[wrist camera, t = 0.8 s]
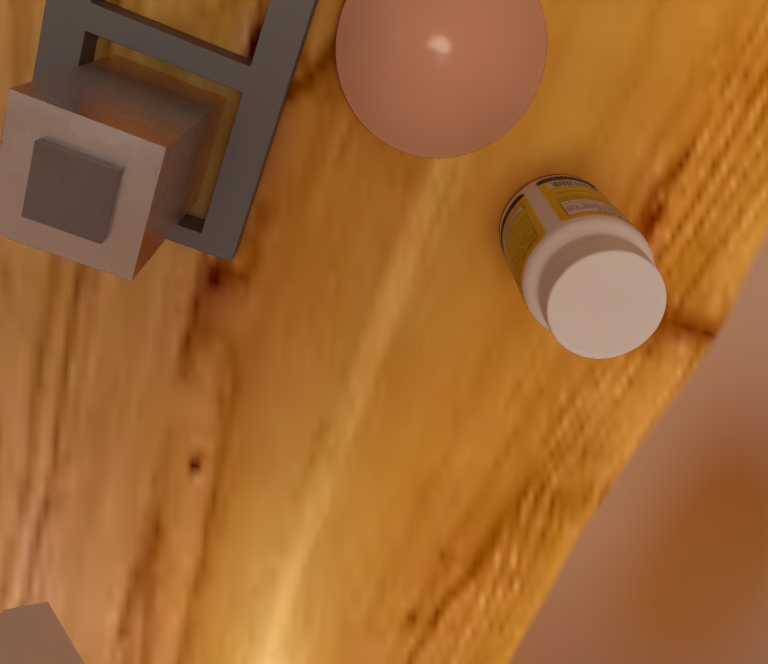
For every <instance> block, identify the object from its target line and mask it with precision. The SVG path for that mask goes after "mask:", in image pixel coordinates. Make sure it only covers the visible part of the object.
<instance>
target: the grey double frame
mask: <svg viewBox="0 0 768 664" xmlns="http://www.w3.org/2000/svg"><path fill="white" fill-rule="evenodd" d="M317 1H318V0H270V2H269V6H268V9H267V13H266V16H265V19H264V23H263V26H262V30H261V33H260V36H259V40H258V43H257V47H256V50H255V53H254V57H253V60H250V59H247V58H245V57H243V56H240V55H238V54H235V53H233V52H230V51H228V50H225V49H223V48H220V47H218V46H215V45H213V44H210V43H208V42H205V41H203V40H200V39H198V38H195V37H193V36H190V35H188V34H186V33H183V32H181V31H178V30H176V29H173V28H171V27H168V26H166V25H163V24H161V23H158V22H156V21H153V20H151V19H148V18H146V17H143V16H141V15H138V14H136V13H133V12H131V11H129V10H126V9H124V8H121V7H119V6H116V5H114V4H111V3H109V2H106V1H105V0H46V5H45V11H44V17H43V23H42V29H41V34H40V40H39V46H38V52H37V58H36V64H35V69H34V75H33V81H35V80H38V79H41V78H44V77H47V76H50V75H53V74H56V73H59V72H62V71H65V70H68V69H71V68H74V67H78V66H81V65H84V64H87V63H90V62H92V61H93V57H94V52H95V47H96V42H97V37H98V36H100V37H103V38H105V39H108V40H110V41H113V42H115V43H118V44H120V45H123V46H125V47H128V48H130V49H133V50H136V51H138V52H141V53H143V54H146V55H148V56H151V57H153V58H156V59H158V60H161V61H163V62H166V63H168V64H171V65H174V66H176V67H179V68H181V69H184V70H186V71H189V72H191V73H194V74H196V75H199V76H201V77H204V78H206V79H209V80H211V81H214V82H217V83H219V84H222V85H224V86H227V87H229V88H232V89H234V90H237V91H239V92H242V93H243V94H242V97H241V101H240V104H239V108H238V111H237V114H236V118H235V121H234V125H233V128H232V131H231V135H230V138H229V141H228V145H227V148H226V152H225V155H224V158H223V162H222V165H221V169H220V172H219V175H218V179H217V182H216V186H215V189H214V192H213V196H212V199H211V203H210V206H209V209H208V213H207V216H206V219H205V221H204V220H202V219H199V218H196V217H193V216H191V215H188V214H185V215H184V217H183V218H182V219H181V220H180V222H179V223H178V224H177V225H176V227H175V228H174V229H173V230H172V232H171V233H170V234H169V235H168V236H167V238H166V239H169V240H171V241H174V242H177V243H180V244H183V245H185V246H188V247H191V248H194V249H197V250H199V251H202V252H205V253H208V254H211V255H213V256H216V257H219V258H222V259H225V260H228V261H230V262H231V261H232V260H233V258H234V256H235V254H236V252H237V250H238V247H239V244H240V241H241V238H242V235H243V232H244V228H245V225H246V222H247V219H248V216H249V213H250V210H251V207H252V204H253V200H254V197H255V194H256V191H257V188H258V185H259V182H260V179H261V176H262V172H263V169H264V166H265V163H266V160H267V157H268V154H269V151H270V148H271V144H272V141H273V138H274V135H275V132H276V129H277V126H278V123H279V120H280V116H281V113H282V110H283V107H284V104H285V101H286V98H287V95H288V92H289V88H290V85H291V82H292V79H293V76H294V73H295V70H296V67H297V64H298V60H299V57H300V54H301V51H302V48H303V45H304V42H305V39H306V36H307V32H308V29H309V26H310V23H311V20H312V17H313V14H314V11H315V7H316V4H317Z"/></svg>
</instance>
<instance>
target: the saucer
mask: <svg viewBox="0 0 768 664" xmlns="http://www.w3.org/2000/svg"><path fill="white" fill-rule="evenodd" d="M546 52H547V33H546V24H545V18H544V14H543V10H542V6H541V4H540V1H539V0H346V2H345V5H344V7H343V9H342V12H341V16H340V20H339V24H338V29H337V36H336V63H337V71H338V75H339V80H340V84H341V86H342V89H343V92H344V95H345V97H346V99H347V101H348V103H349V105H350V107H351V109H352V110H353V112H354V113H355V115H356V116H357V117H358V119H359V120H360V121H361V123H362V124H363V125H364V126H365V127H366V128H367V129H368V130H369V131H370V132H371V133H372V134H373V135H375V136H376V137H377V138H378V139H379V140H381V141H383V142H384V143H386V144H387V145H389V146H391V147H393V148H395V149H397V150H399V151H401V152H404V153H407V154H410V155H413V156H418V157H424V158H438V159H440V158H452V157H457V156H462V155H466V154H469V153H471V152H474V151H477V150H479V149H481V148H483V147H485V146H487V145H489V144H491V143H492V142H494V141H495V140H497V139H498V138H500V137H501V136H502V135H503V134H505V133H506V132H507V131H508V130H509V129H510V128H512V126H513V125H514V124H515V123H516V122H517V121H518V120H519V119H520V118H521V116H522V115H523V113H524V112H525V111H526V109H527V108H528V106H529V105H530V103H531V101H532V99H533V97H534V95H535V94H536V91H537V89H538V86H539V84H540V81H541V78H542V74H543V70H544V66H545V60H546Z"/></svg>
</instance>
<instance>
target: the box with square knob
mask: <svg viewBox="0 0 768 664" xmlns="http://www.w3.org/2000/svg"><path fill="white" fill-rule="evenodd" d="M225 100H226V98H225V97H223V96H220V95H217V94H215V93H212V92H210V91H207V90H205V89H202V88H200V87H197V86H195V85H192V84H189V83H187V82H184V81H182V80H179V79H177V78H174V77H172V76H169V75H166V74H164V73H161V72H159V71H156V70H154V69H151V68H149V67H146V66H144V65H141V64H138V63H136V62H133V61H131V60H128V59H126V58H123V57H121V56H118V55H116V54H114V55H111V56H108V57H105V58H102V59H99V60H96V61H93V62H90V63H87V64H84V65H81V66H78V67H74V68H71V69H68V70H65V71H62V72H59V73H56V74H53V75H50V76H47V77H44V78H41V79H38V80H35V81H32V82H29V83H26V84H22V85H19V86H16V87H13V88H10V89H9V95H8V101H7V108H6V114H5V120H4V126H3V133H2V139H1V145H0V236H2V237H5V238H8V239H11V240H14V241H17V242H20V243H23V244H26V245H29V246H32V247H34V248H37V249H40V250H43V251H46V252H49V253H52V254H55V255H58V256H61V257H63V258H66V259H69V260H72V261H75V262H78V263H81V264H84V265H87V266H90V267H93V268H95V269H98V270H101V271H104V272H107V273H110V274H113V275H116V276H119V277H122V278H125V279H127V280H130V281H132V280H133V279H134V277H135V276H136V275H137V274H138V272H139V271H140V270H141V269H142V267H143V266H144V265H145V264H146V262H147V261H148V260H149V259H150V258H151V256H152V255H153V254H154V253H155V251H156V250H157V249H158V248H159V246H160V245H161V244H162V243H163V241H164V240H165V239H166V238H167V236H168V235H169V234H170V233H171V232H172V230H173V229H174V228H175V227H176V225H177V224H178V223H179V222H180V220H181V219H182V218H183V217H184V215H185V214H186V213H187V212H188V210H189V209H190V208H191V207H192V205H193V204H194V203H195V202H196V201H197V198H198V195H199V191H200V188H201V184H202V181H203V177H204V174H205V170H206V167H207V163H208V160H209V156H210V153H211V149H212V146H213V142H214V139H215V135H216V132H217V128H218V125H219V121H220V118H221V114H222V111H223V107H224V104H225Z"/></svg>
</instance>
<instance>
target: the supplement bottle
mask: <svg viewBox="0 0 768 664" xmlns="http://www.w3.org/2000/svg"><path fill="white" fill-rule="evenodd" d="M500 243H501V247H502V250H503V253H504V255H505V258H506V260H507V262H508V265H509V267H510V269H511V271H512V274H513V276H514V278H515V281H516V283H517V285H518V287H519V290H520V292H521V294H522V297H523V299H524V302H525V304H526V306H527V308H528V309H529V311H530V313H531V314H532V315H533V317H534V318H535V319H536V320H537V321H538V322H539V323H540V324H541V325H542V326H543V327H545V328H546V329H548V330H549V331H551V333H552V334H553V336H554V337H555V339H556V340H557V341H558V342H559V343H560V344H561V345H562V346H563V347H565V348H566V349H567V350H569V351H571V352H572V353H575V354H577V355H580V356H583V357H587V358H594V359H604V358H612V357H616V356H619V355H622V354H625V353H627V352H629V351H631V350H633V349H635V348H637V347H638V346H640V345H641V344H642V343H643V342H645V341H646V340H647V339H648V338H649V337H650V336H651V335H652V334H653V332H654V331H655V330H656V328H657V327H658V325H659V323H660V321H661V319H662V317H663V314H664V312H665V307H666V288H665V284H664V281H663V278H662V276H661V274H660V272H659V271H658V269H657V268H656V267H655V263H654V257H653V254H652V251H651V249H650V247H649V245H648V243H647V241H646V240H645V238H644V237H643V235H642V234H641V233H640V232H639V231H638V230H637V229H636V228H635V227H634V226H633V225H632V224H631V223H630V222H629V221H628V220H627V219H626V218H625V217H624V216H623V215H622V214H621V213H620V212H619V211H618V210H617V209H616V208H615V207H614V206H613V205H612V204H611V203H610V202H609V201H608V200H607V199H606V198H605V197H604V196H603V195H602V194H601V193H600V192H599V191H598V190H597V189H596V188H595V187H594V186H592V185H591V184H590V183H588V182H586V181H584V180H582V179H580V178H577V177H574V176H568V175H552V176H547V177H543V178H540V179H538V180H535V181H533V182H531V183H530V184H528V185H527V186H525V187H524V188H523V189H522V190H520V191H519V192H518V193H517V194H516V195H515V196H514V197H513V199H512V200H511V201H510V202H509V204H508V205H507V207H506V209H505V211H504V213H503V216H502V219H501V223H500Z"/></svg>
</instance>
